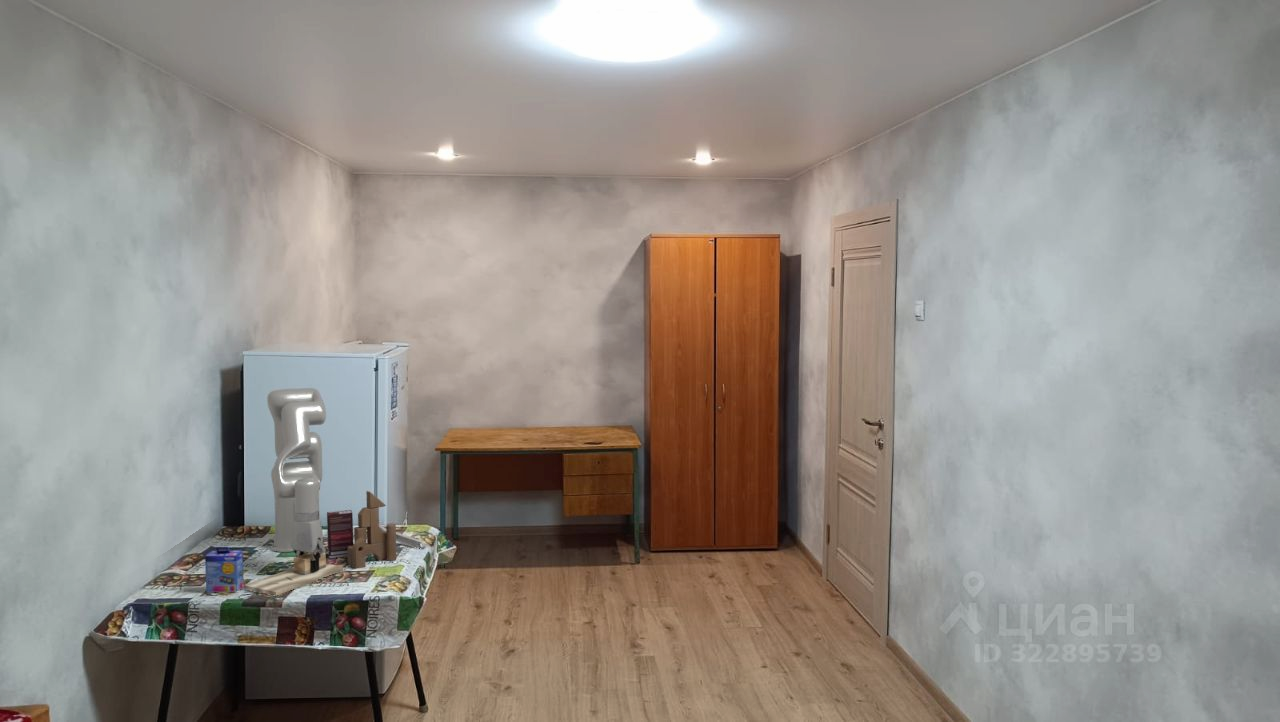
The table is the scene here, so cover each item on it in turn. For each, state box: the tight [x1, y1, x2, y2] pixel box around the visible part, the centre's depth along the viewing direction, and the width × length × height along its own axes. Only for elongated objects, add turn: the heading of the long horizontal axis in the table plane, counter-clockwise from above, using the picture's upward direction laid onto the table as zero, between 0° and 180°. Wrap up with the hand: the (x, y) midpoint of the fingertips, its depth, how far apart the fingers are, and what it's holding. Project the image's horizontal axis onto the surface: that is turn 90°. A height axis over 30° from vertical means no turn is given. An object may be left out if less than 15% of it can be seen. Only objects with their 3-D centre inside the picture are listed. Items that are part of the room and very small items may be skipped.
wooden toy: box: [347, 490, 397, 569], centre depth 302 cm, size 15×7×25 cm, turn 132°
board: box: [243, 563, 344, 597], centre depth 284 cm, size 14×28×2 cm, turn 154°
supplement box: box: [326, 509, 354, 559], centre depth 310 cm, size 9×5×16 cm, turn 113°
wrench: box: [366, 522, 427, 550], centre depth 326 cm, size 8×2×30 cm
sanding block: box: [293, 552, 327, 575], centre depth 289 cm, size 5×9×5 cm, turn 155°
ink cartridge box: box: [204, 546, 245, 594], centre depth 273 cm, size 10×6×14 cm, turn 95°
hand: (308, 569), depth 289 cm, fingers closed on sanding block, 5 cm apart
